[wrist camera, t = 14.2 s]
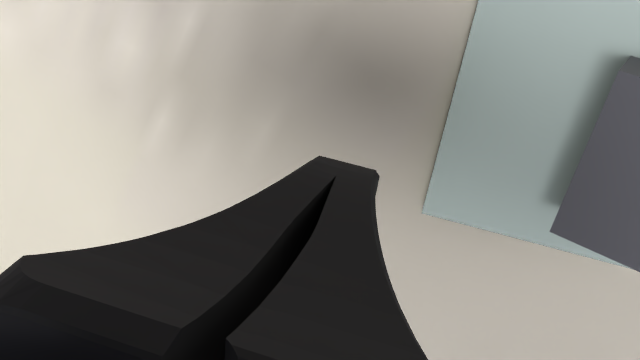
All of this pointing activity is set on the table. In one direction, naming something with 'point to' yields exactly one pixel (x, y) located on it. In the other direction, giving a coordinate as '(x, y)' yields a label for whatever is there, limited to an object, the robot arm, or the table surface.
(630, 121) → the black domino
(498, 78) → the sage board
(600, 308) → the table surface
